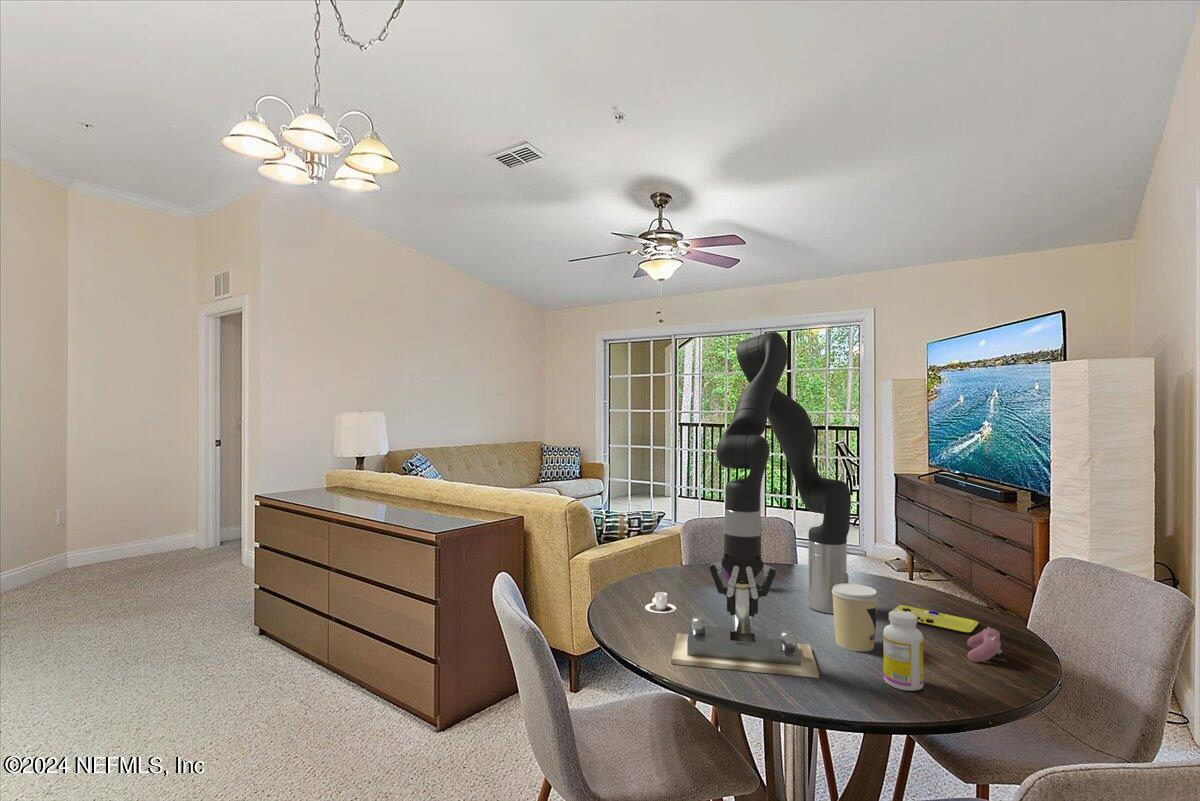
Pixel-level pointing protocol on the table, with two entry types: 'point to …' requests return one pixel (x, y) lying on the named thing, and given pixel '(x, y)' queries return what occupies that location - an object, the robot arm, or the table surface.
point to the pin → (742, 607)
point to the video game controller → (984, 645)
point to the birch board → (805, 670)
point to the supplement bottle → (903, 652)
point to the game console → (941, 620)
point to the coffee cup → (855, 616)
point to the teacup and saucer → (660, 603)
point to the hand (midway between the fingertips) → (742, 614)
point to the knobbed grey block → (741, 644)
